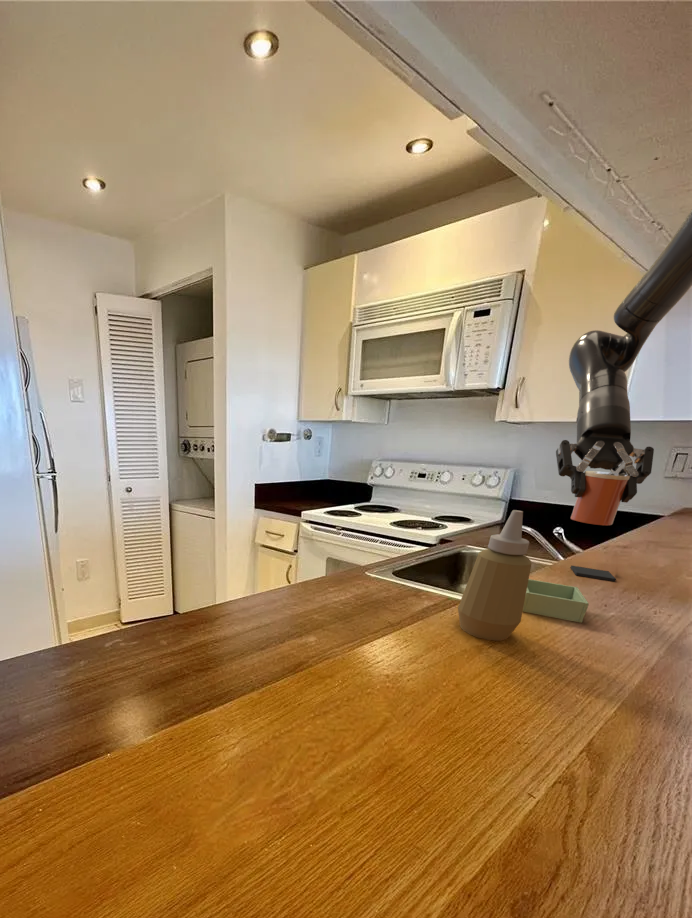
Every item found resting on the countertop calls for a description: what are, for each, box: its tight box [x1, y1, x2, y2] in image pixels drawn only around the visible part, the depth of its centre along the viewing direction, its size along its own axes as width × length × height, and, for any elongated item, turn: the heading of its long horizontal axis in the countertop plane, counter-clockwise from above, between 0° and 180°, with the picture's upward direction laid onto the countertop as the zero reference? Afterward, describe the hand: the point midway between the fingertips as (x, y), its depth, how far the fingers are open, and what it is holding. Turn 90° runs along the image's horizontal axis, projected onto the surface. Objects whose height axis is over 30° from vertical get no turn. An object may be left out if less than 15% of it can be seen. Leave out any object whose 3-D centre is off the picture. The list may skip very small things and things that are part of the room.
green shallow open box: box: [522, 578, 590, 623], centre depth 77 cm, size 8×8×4 cm
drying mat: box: [570, 565, 617, 582], centre depth 101 cm, size 7×6×1 cm
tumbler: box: [570, 470, 630, 526], centre depth 80 cm, size 6×6×8 cm
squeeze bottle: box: [457, 509, 532, 642], centre depth 64 cm, size 8×8×18 cm
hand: (603, 496), depth 78 cm, fingers closed on tumbler, 6 cm apart
